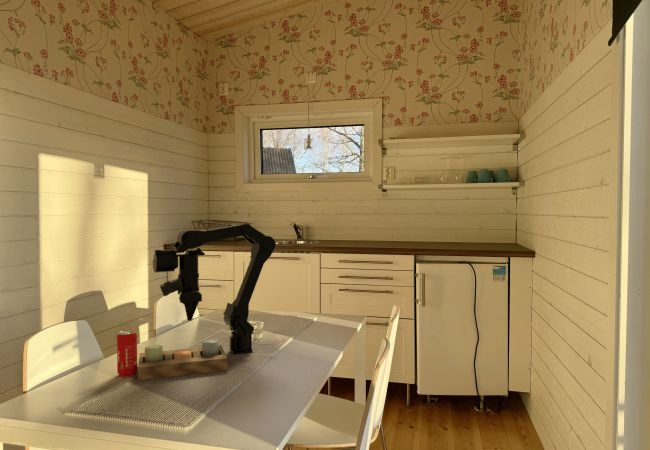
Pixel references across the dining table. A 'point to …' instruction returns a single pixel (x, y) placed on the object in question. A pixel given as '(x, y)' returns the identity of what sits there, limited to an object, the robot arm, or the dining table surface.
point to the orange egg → (182, 354)
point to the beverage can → (127, 353)
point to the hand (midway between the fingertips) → (189, 320)
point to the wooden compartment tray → (181, 364)
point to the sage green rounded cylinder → (210, 348)
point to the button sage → (154, 353)
